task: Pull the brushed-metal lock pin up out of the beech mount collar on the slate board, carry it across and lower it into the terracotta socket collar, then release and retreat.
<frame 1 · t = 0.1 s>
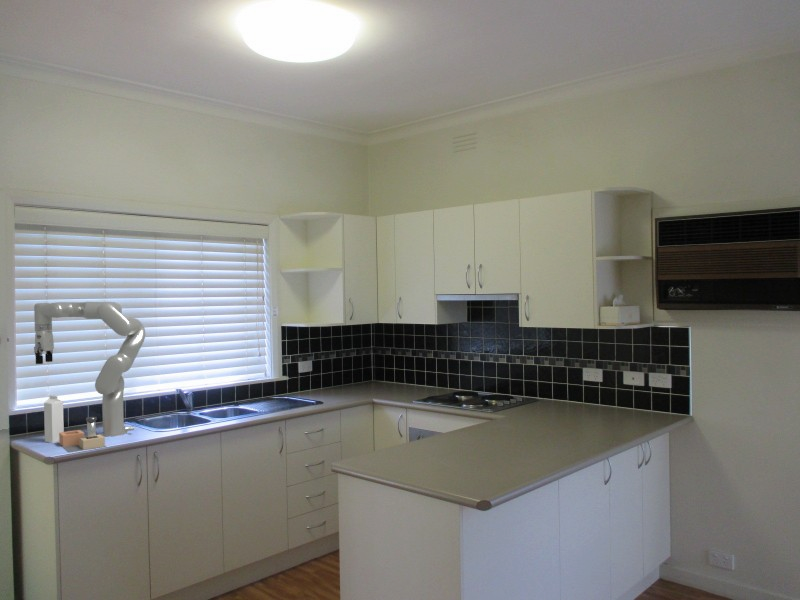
hand: (44, 362, 324), 37 cm above the countertop, tool pointing down, fingers open, 9 cm apart
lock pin: (91, 446, 301), point 1 cm above the countertop, touching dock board
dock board: (81, 447, 304), on the countertop
milk: (54, 441, 318), on the countertop
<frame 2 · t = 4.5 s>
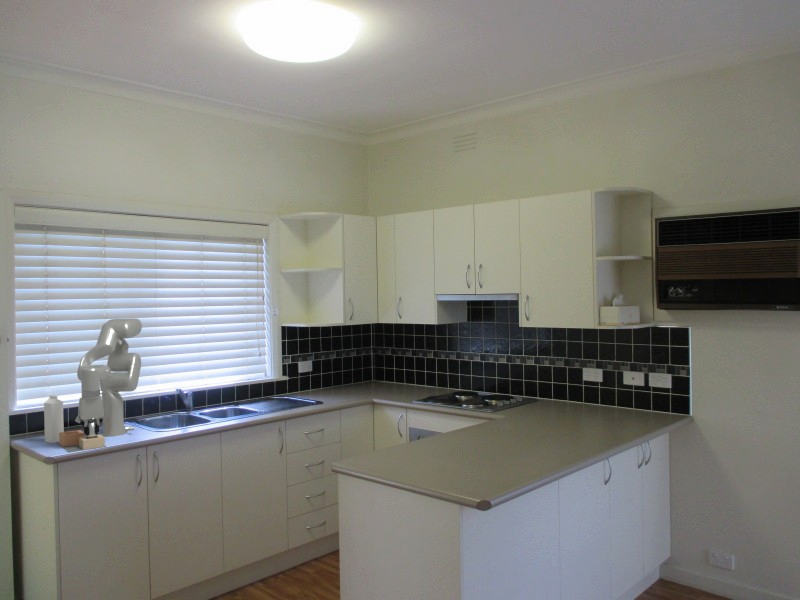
hand: (91, 434, 301), 7 cm above the countertop, tool pointing down, fingers closed on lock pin, 3 cm apart
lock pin: (91, 446, 301), point 1 cm above the countertop, touching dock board, gripper
everything else where it was.
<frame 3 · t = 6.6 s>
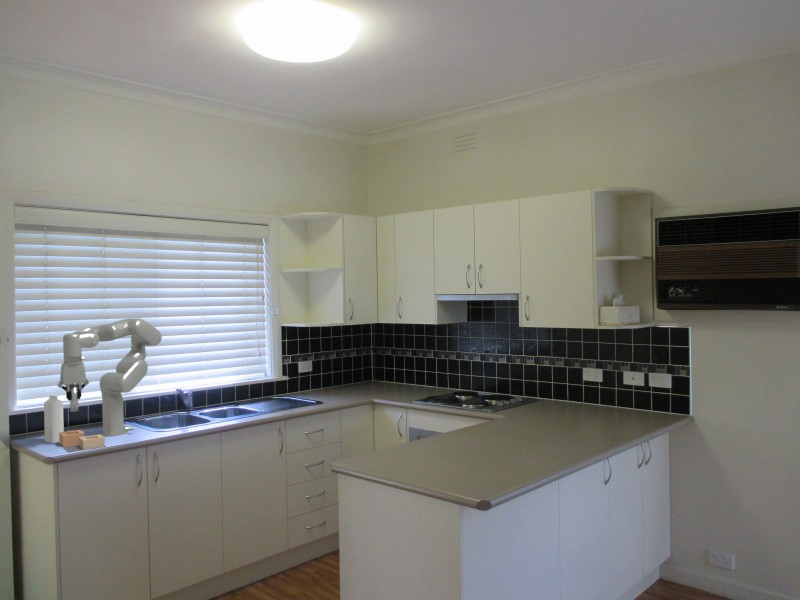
hand: (73, 399, 306), 22 cm above the countertop, tool pointing down, fingers closed on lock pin, 3 cm apart
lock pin: (74, 411, 306), point 17 cm above the countertop, touching gripper
everything else where it was.
when the fingers open (9 cm above the countertop, at t = 9.1 s): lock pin drops 2 cm, resting on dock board.
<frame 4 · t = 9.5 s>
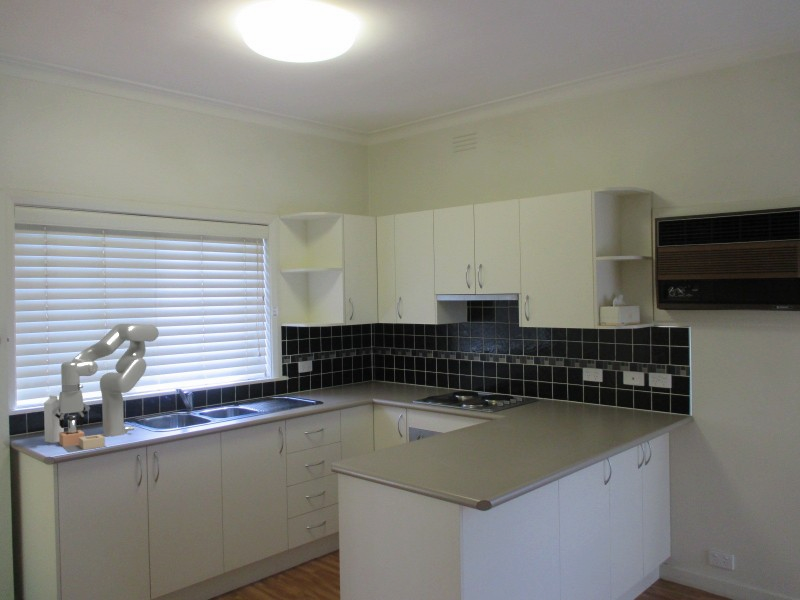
hand: (71, 426, 307), 9 cm above the countertop, tool pointing down, fingers open, 7 cm apart
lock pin: (72, 443, 307), point 1 cm above the countertop, touching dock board
everything else where it was.
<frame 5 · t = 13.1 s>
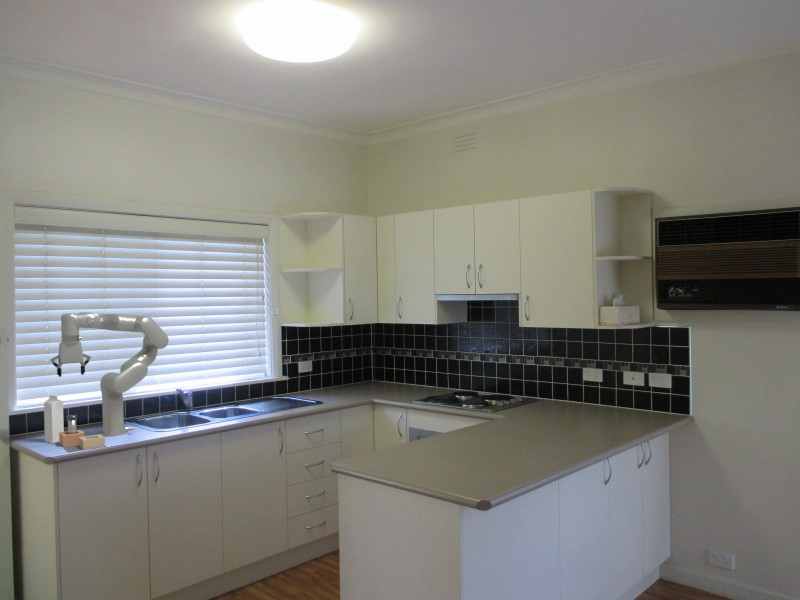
hand: (71, 375, 312), 32 cm above the countertop, tool pointing down, fingers open, 9 cm apart
nothing on the countertop moved.
at the end: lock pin 0.2 cm from the target spot on the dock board, point 1.2 cm above the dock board's base; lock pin tilted 0°; the gripper is holding nothing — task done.
